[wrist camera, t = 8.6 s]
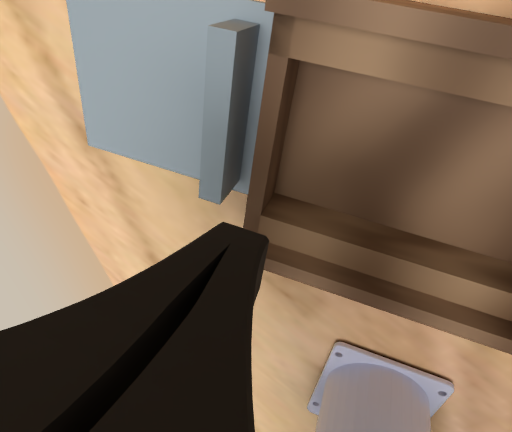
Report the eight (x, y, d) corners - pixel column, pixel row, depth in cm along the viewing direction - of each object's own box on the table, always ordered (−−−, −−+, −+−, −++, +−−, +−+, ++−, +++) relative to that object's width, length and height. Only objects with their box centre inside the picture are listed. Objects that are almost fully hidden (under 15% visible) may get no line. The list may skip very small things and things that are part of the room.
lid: (283, 5, 16) (257, 11, 13) (253, 188, 21) (231, 221, 19) (72, -38, 18) (9, -41, 15) (96, 140, 23) (54, 163, 21)
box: (700, 52, 12) (814, 80, 9) (505, 293, 19) (527, 359, 16) (298, -20, 15) (268, -19, 11) (258, 216, 22) (232, 259, 18)
